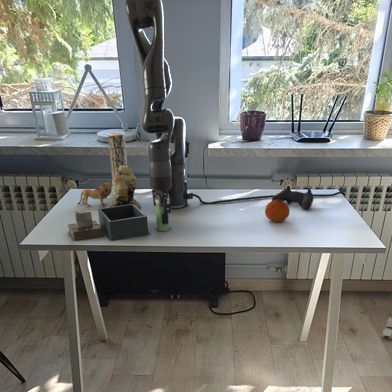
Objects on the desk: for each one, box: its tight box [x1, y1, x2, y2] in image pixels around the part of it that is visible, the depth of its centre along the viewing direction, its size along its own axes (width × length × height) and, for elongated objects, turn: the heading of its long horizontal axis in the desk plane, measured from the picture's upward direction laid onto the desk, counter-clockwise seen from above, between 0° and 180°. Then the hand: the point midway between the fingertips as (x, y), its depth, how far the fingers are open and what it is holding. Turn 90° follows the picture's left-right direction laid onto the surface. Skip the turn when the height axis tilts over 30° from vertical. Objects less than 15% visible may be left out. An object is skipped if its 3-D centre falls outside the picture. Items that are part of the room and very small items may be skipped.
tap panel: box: [67, 219, 103, 241], centre depth 178 cm, size 10×10×3 cm
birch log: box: [107, 130, 128, 181], centre depth 213 cm, size 7×7×25 cm
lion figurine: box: [77, 182, 113, 208], centre depth 204 cm, size 15×5×9 cm, turn 94°
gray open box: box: [97, 204, 149, 241], centre depth 180 cm, size 14×16×7 cm
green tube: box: [155, 199, 170, 232], centre depth 180 cm, size 5×5×11 cm
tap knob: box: [73, 209, 93, 228], centre depth 176 cm, size 6×2×5 cm, turn 114°
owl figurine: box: [109, 165, 141, 209], centre depth 197 cm, size 18×12×17 cm, turn 176°
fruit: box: [264, 199, 290, 223], centre depth 187 cm, size 9×9×8 cm
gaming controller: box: [271, 184, 314, 211], centre depth 203 cm, size 17×6×10 cm
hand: (162, 221), depth 181 cm, fingers closed on green tube, 4 cm apart
